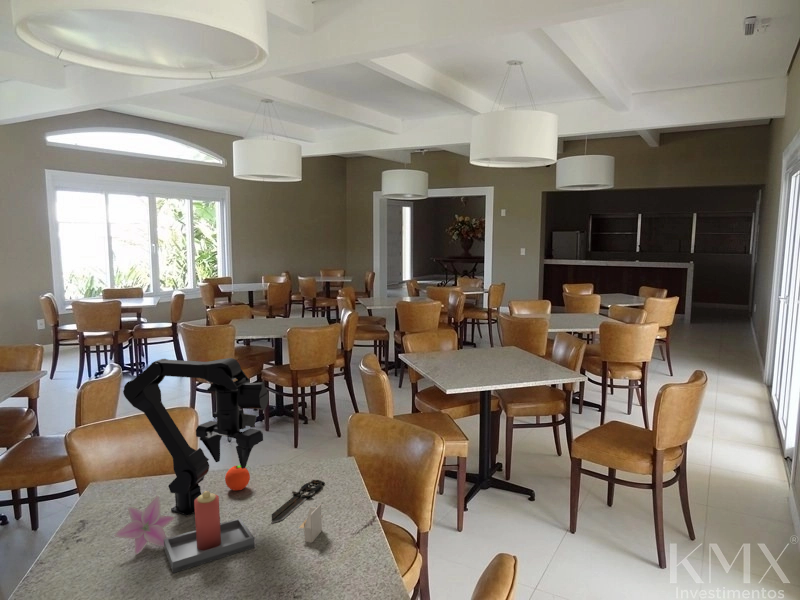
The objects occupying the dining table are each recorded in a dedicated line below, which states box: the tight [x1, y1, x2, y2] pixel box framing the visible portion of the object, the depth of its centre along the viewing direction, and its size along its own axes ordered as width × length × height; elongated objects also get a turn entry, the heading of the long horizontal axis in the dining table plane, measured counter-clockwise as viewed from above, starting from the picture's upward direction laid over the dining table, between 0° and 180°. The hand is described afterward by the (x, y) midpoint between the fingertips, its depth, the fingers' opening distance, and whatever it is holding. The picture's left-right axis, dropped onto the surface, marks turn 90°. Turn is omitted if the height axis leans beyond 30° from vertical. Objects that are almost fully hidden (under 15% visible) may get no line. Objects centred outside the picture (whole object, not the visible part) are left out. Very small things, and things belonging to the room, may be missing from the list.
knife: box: [270, 479, 326, 524], centre depth 150 cm, size 25×6×1 cm, turn 154°
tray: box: [163, 517, 255, 574], centre depth 128 cm, size 11×18×2 cm, turn 123°
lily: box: [113, 495, 176, 555], centre depth 130 cm, size 12×12×10 cm
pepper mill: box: [194, 490, 221, 550], centre depth 127 cm, size 5×5×13 cm
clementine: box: [224, 464, 251, 492], centre depth 158 cm, size 8×7×7 cm
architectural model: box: [298, 503, 323, 543], centre depth 133 cm, size 3×7×7 cm, turn 164°
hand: (230, 464), depth 144 cm, fingers open, 9 cm apart
